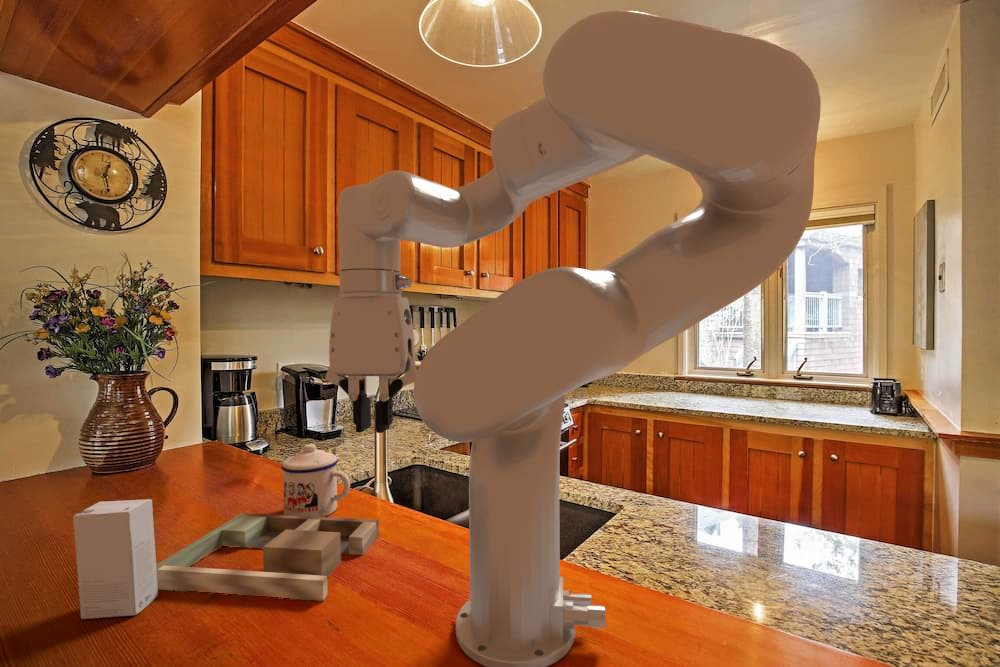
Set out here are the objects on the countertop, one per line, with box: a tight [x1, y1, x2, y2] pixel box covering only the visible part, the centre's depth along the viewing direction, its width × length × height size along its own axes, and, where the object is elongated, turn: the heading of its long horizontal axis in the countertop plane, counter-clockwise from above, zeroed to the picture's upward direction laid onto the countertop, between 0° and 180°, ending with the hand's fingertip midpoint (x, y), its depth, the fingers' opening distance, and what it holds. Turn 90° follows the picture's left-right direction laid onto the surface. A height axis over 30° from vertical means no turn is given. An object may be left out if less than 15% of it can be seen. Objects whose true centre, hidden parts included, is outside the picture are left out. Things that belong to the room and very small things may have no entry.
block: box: [262, 530, 342, 578], centre depth 62 cm, size 8×5×4 cm, turn 82°
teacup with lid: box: [281, 443, 351, 517], centre depth 81 cm, size 12×9×12 cm
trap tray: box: [156, 512, 380, 602], centre depth 65 cm, size 23×17×2 cm
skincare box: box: [72, 498, 159, 620], centre depth 54 cm, size 6×4×12 cm
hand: (373, 429), depth 60 cm, fingers closed
